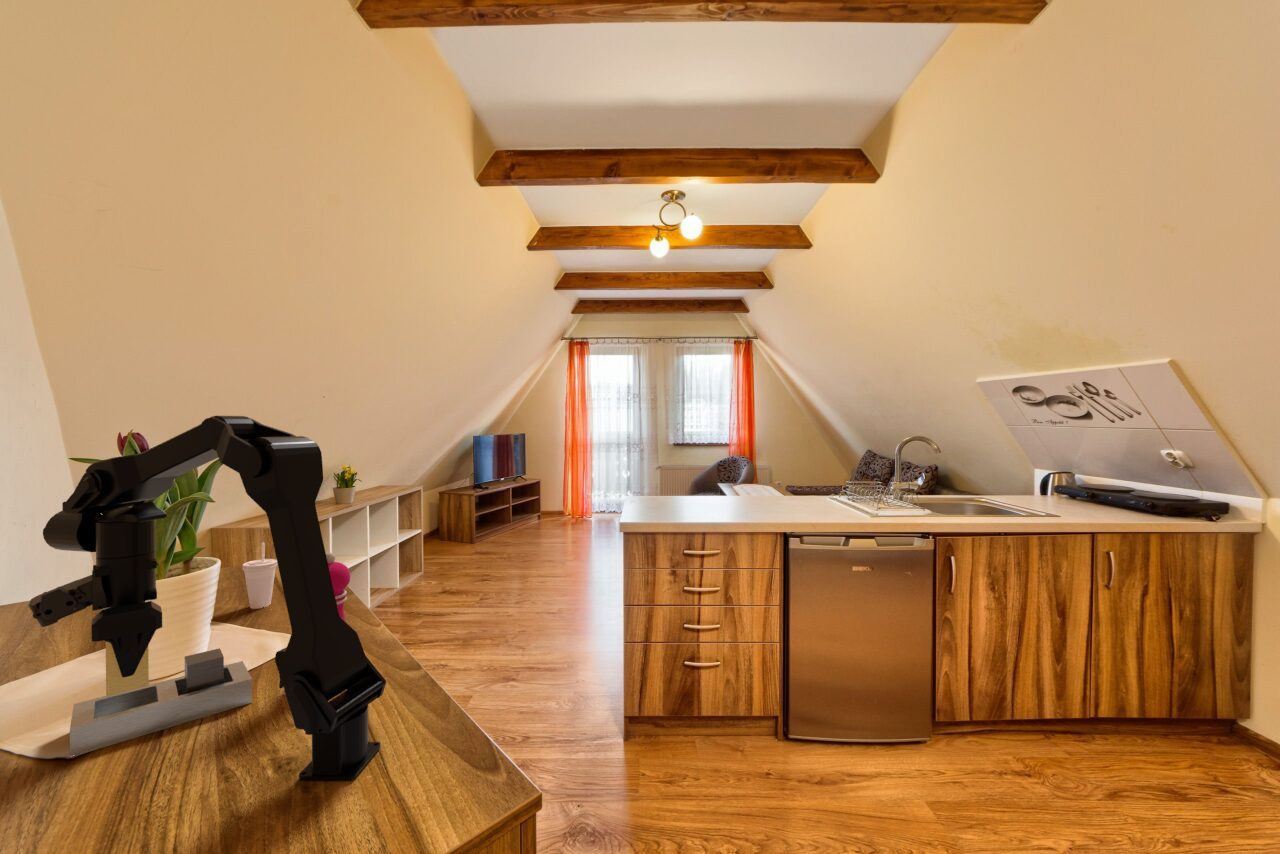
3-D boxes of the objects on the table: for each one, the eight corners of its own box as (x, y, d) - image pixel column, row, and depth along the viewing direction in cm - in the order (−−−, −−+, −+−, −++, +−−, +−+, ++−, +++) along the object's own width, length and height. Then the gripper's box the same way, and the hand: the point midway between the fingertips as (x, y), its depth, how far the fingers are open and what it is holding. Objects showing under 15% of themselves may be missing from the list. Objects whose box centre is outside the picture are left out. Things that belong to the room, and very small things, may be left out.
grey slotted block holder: (242, 683, 83) (242, 638, 83) (251, 702, 77) (251, 654, 77) (73, 730, 70) (73, 677, 70) (70, 757, 64) (69, 700, 64)
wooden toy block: (148, 685, 71) (148, 633, 71) (106, 696, 68) (105, 642, 68) (147, 675, 73) (147, 625, 73) (106, 685, 71) (106, 633, 71)
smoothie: (283, 604, 119) (283, 541, 118) (250, 613, 113) (249, 547, 113) (269, 599, 122) (269, 538, 122) (237, 607, 117) (236, 543, 116)
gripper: (42, 552, 71) (43, 667, 72) (25, 581, 58) (27, 722, 58) (154, 539, 79) (155, 643, 79) (162, 562, 66) (163, 687, 66)
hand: (127, 670), depth 71 cm, fingers closed on wooden toy block, 4 cm apart
